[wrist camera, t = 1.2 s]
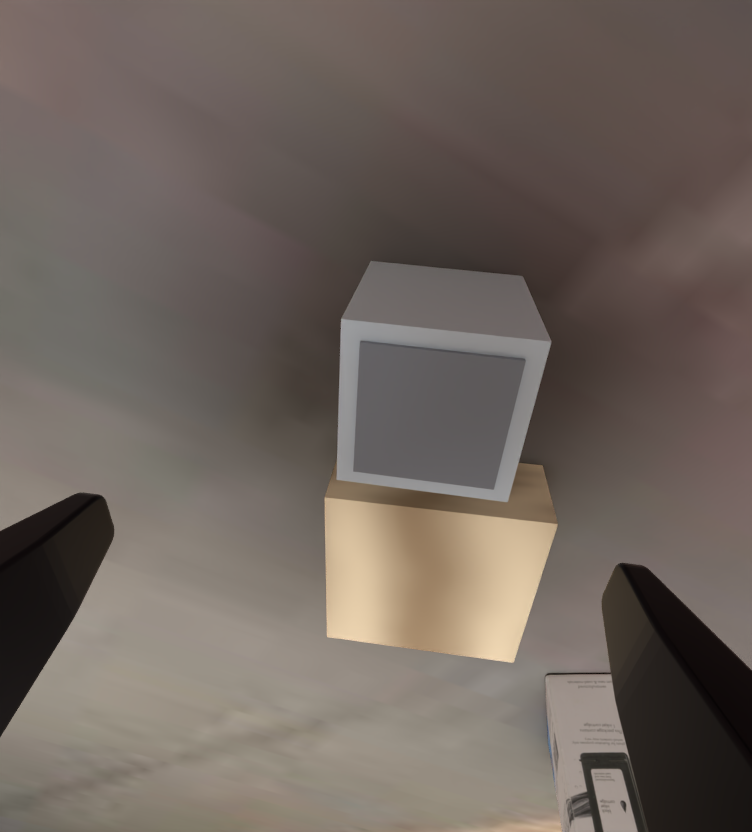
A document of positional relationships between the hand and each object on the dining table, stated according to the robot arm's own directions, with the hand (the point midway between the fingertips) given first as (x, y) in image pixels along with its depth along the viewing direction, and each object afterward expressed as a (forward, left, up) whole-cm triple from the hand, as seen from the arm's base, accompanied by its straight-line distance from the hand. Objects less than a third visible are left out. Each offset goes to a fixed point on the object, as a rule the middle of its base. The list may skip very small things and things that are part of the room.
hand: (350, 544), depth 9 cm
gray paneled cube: (-1, +1, -12) cm, 12 cm away
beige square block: (-2, +11, -12) cm, 17 cm away
